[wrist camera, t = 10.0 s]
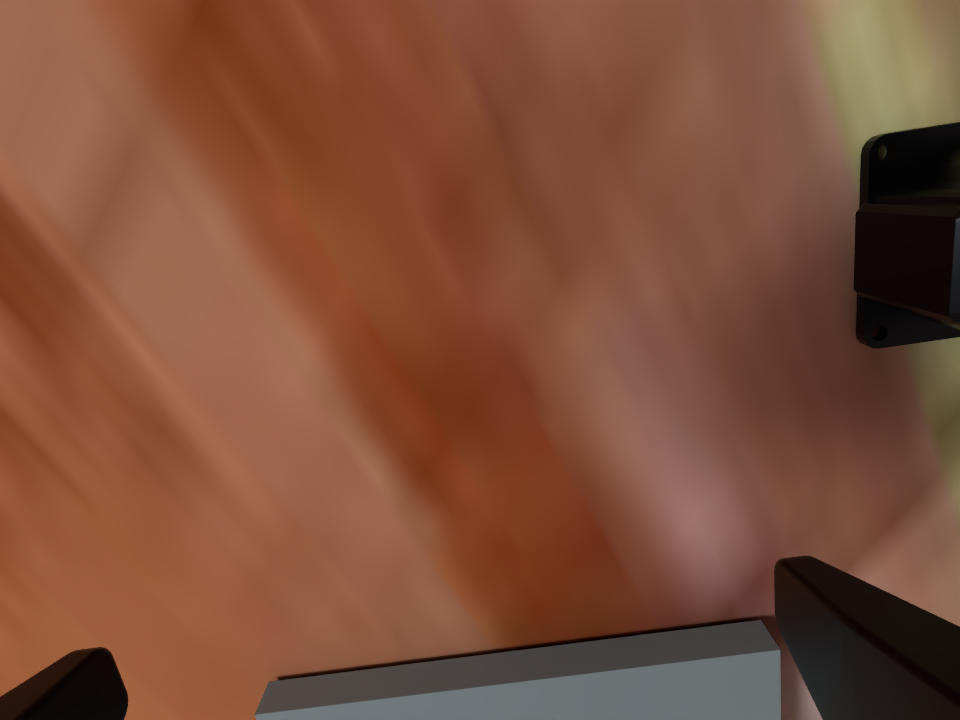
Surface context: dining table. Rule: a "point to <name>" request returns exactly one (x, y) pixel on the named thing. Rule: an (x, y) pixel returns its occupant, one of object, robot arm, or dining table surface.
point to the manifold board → (559, 683)
